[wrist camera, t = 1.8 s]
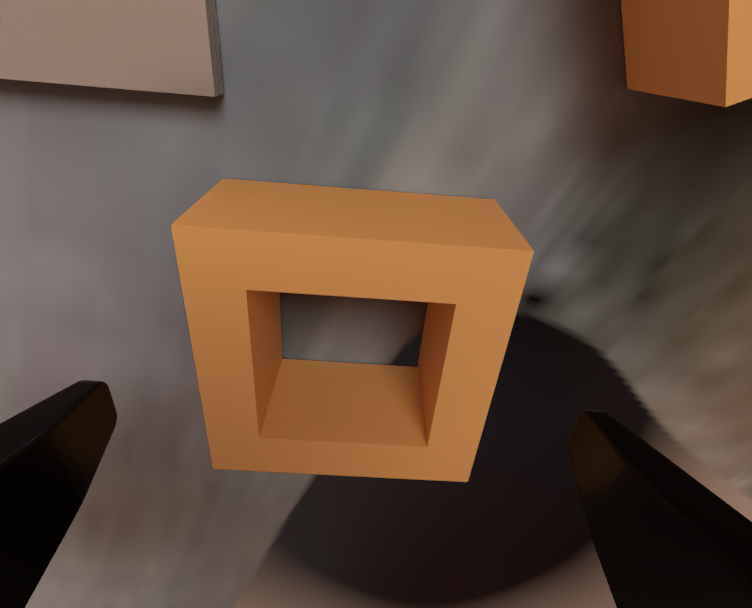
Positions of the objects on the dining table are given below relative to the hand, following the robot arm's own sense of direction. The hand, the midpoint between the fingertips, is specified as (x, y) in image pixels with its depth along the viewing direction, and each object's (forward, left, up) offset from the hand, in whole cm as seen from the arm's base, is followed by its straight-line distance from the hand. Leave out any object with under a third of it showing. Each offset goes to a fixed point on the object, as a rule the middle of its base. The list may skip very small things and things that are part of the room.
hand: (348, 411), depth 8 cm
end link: (0, 0, -4) cm, 4 cm away
